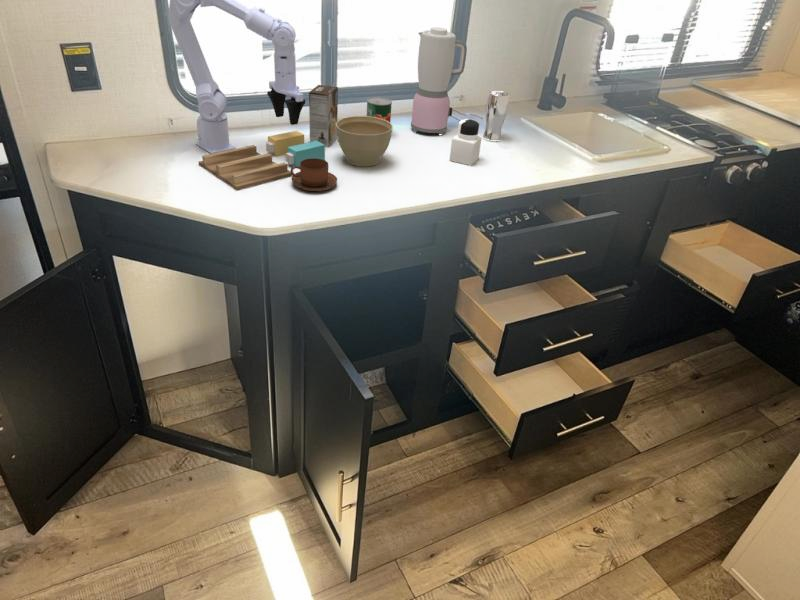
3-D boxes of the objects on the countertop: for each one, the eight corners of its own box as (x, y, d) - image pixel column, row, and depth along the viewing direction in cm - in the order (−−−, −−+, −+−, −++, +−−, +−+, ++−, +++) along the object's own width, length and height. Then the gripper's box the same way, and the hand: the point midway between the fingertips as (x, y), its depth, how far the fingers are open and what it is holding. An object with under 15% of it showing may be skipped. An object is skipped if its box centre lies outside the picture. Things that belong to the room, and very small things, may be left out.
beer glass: (505, 138, 203) (513, 93, 195) (496, 143, 198) (504, 97, 190) (486, 133, 206) (494, 88, 198) (477, 138, 201) (484, 93, 193)
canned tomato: (375, 128, 202) (377, 95, 196) (394, 134, 198) (396, 101, 192) (360, 134, 196) (362, 100, 190) (379, 140, 193) (381, 106, 186)
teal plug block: (284, 164, 171) (284, 147, 168) (316, 157, 178) (316, 140, 175) (292, 169, 169) (292, 152, 166) (324, 161, 175) (324, 144, 172)
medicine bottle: (478, 159, 186) (484, 120, 179) (471, 166, 180) (476, 126, 174) (457, 153, 188) (462, 115, 181) (448, 161, 183) (453, 121, 176)
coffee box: (318, 135, 192) (318, 83, 183) (337, 138, 192) (338, 86, 183) (309, 144, 185) (308, 91, 176) (329, 147, 184) (329, 94, 175)
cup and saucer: (298, 197, 154) (298, 174, 151) (286, 178, 163) (285, 157, 160) (343, 192, 159) (343, 170, 155) (328, 174, 168) (329, 153, 164)
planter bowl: (352, 147, 186) (353, 112, 180) (399, 159, 181) (402, 123, 175) (324, 163, 174) (325, 126, 168) (374, 176, 169) (376, 138, 162)
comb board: (199, 164, 166) (197, 154, 164) (252, 153, 176) (252, 143, 174) (237, 190, 154) (236, 179, 153) (292, 175, 164) (292, 165, 163)
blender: (410, 135, 199) (419, 31, 181) (409, 123, 209) (418, 23, 191) (457, 138, 200) (471, 35, 182) (455, 126, 210) (467, 27, 192)
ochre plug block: (265, 153, 177) (264, 137, 174) (296, 146, 183) (296, 130, 180) (272, 158, 174) (271, 141, 172) (304, 150, 181) (304, 134, 178)
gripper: (312, 76, 164) (312, 125, 172) (283, 63, 173) (285, 111, 180) (290, 79, 160) (291, 129, 168) (261, 66, 168) (264, 114, 176)
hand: (286, 120), depth 174 cm, fingers open, 7 cm apart
